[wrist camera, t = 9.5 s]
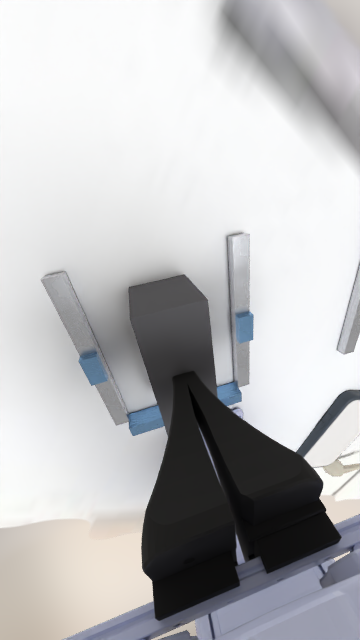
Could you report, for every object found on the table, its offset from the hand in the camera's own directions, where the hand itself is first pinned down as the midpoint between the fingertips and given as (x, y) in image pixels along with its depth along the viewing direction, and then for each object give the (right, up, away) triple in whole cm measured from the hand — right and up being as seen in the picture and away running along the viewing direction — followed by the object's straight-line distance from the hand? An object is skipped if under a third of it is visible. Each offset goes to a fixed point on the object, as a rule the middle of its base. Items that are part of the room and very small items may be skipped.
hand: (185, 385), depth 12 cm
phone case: (+22, -12, +19) cm, 32 cm away
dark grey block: (-1, +2, +5) cm, 5 cm away
